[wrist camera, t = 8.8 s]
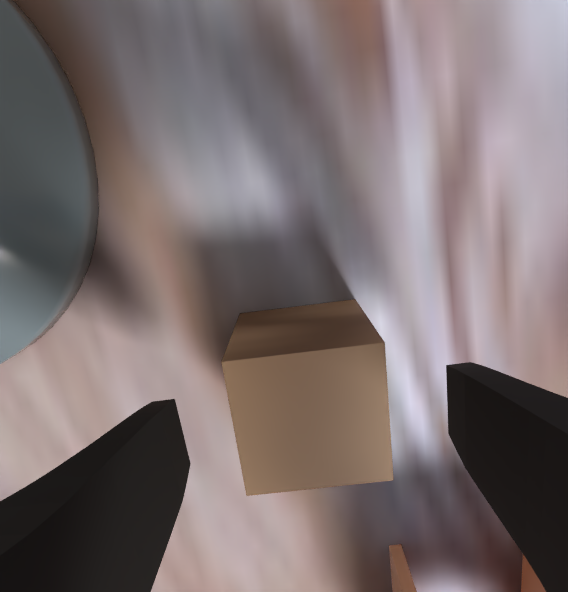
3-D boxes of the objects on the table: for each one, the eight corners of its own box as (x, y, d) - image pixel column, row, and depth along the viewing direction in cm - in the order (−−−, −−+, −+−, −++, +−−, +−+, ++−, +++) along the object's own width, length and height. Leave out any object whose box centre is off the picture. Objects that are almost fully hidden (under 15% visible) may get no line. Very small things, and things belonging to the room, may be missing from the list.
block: (257, 413, 14) (246, 495, 10) (240, 312, 13) (221, 362, 9) (363, 401, 14) (393, 480, 10) (354, 298, 13) (384, 342, 9)
